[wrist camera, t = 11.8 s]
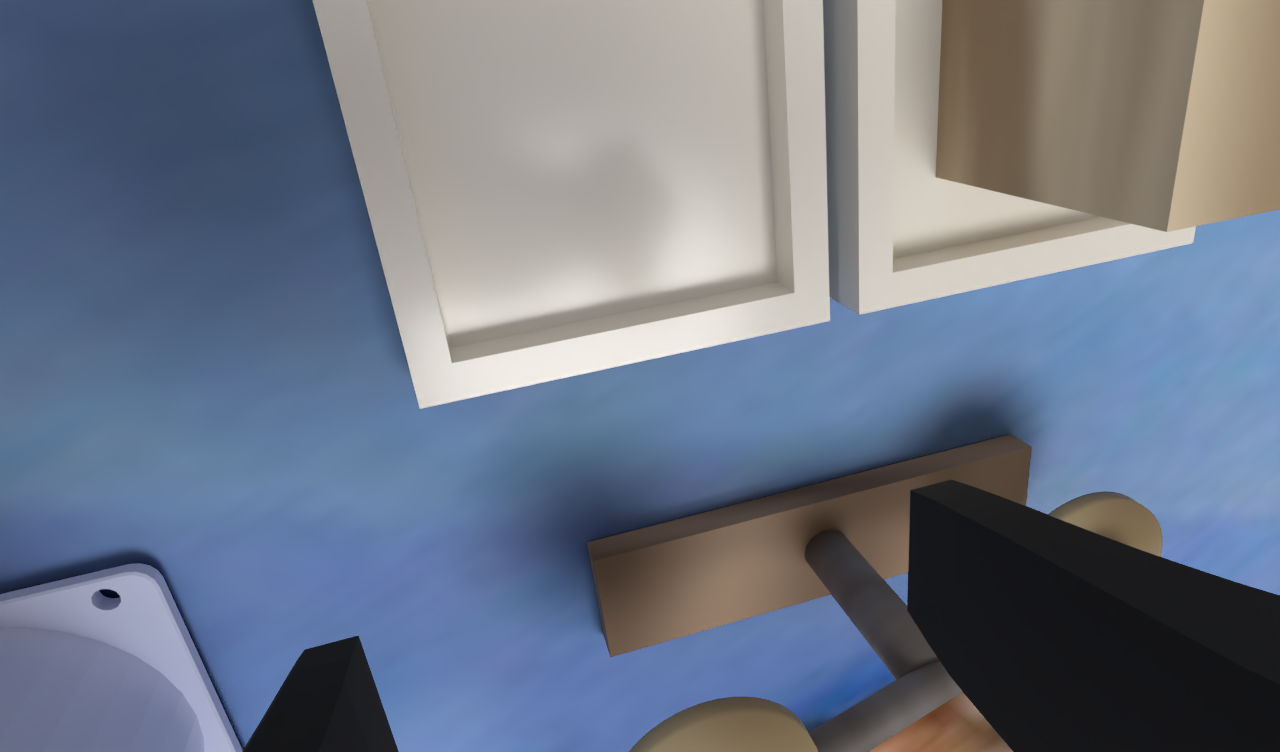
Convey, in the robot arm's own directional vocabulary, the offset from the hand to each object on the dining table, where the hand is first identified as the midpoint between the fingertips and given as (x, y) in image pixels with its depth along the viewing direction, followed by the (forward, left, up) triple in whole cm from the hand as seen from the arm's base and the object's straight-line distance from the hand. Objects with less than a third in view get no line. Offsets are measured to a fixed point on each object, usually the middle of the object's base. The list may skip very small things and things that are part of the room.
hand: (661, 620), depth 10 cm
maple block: (+11, +5, -8) cm, 14 cm away
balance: (+6, -6, -8) cm, 12 cm away
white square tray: (+2, +5, -8) cm, 10 cm away
